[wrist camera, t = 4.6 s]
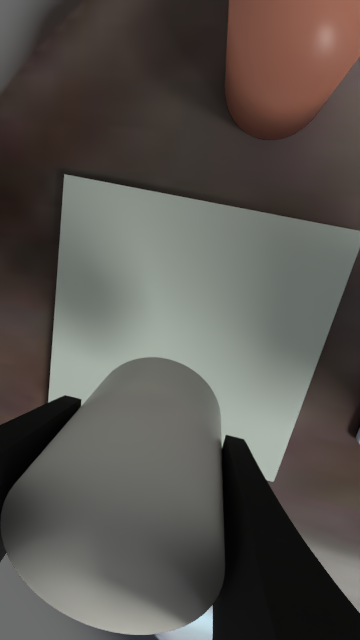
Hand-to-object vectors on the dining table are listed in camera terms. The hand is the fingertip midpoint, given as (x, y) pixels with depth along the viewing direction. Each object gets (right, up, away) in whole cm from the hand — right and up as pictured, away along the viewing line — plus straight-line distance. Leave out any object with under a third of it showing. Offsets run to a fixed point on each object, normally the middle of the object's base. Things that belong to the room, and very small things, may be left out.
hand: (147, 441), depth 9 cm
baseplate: (+1, +3, +8) cm, 8 cm away
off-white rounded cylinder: (0, 0, +1) cm, 1 cm away
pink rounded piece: (+6, +16, +4) cm, 17 cm away
